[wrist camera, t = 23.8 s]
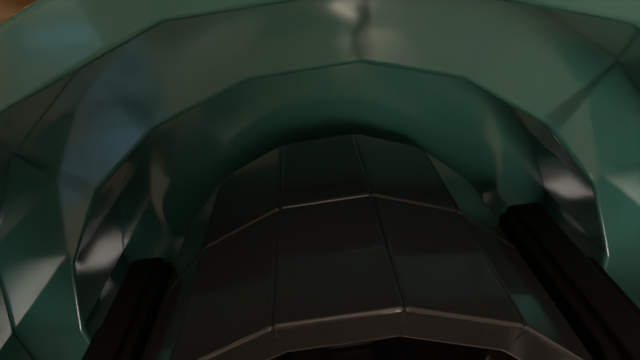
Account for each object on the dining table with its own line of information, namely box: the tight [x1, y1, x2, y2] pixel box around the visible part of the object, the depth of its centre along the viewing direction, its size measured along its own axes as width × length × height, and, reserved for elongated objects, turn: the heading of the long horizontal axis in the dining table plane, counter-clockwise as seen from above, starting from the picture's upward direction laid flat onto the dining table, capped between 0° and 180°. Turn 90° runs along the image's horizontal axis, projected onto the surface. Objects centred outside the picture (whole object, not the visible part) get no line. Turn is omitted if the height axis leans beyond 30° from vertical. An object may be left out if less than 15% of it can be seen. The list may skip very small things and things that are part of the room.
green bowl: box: [0, 0, 640, 360], centre depth 9 cm, size 14×14×6 cm
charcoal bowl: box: [141, 134, 594, 360], centre depth 8 cm, size 7×7×5 cm
